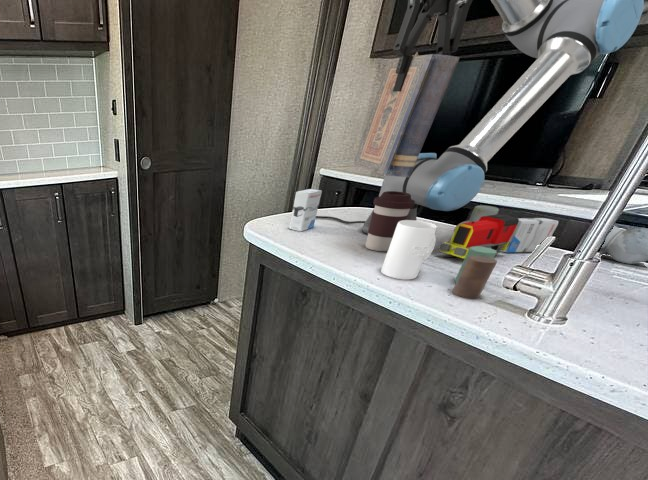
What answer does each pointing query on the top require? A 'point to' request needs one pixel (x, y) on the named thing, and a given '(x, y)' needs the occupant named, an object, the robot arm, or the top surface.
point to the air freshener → (481, 213)
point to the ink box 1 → (305, 209)
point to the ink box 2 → (530, 234)
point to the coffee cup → (387, 218)
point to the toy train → (481, 235)
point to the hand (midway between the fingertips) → (412, 91)
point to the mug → (409, 249)
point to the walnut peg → (474, 276)
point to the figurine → (626, 245)
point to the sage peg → (476, 251)
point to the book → (404, 114)
